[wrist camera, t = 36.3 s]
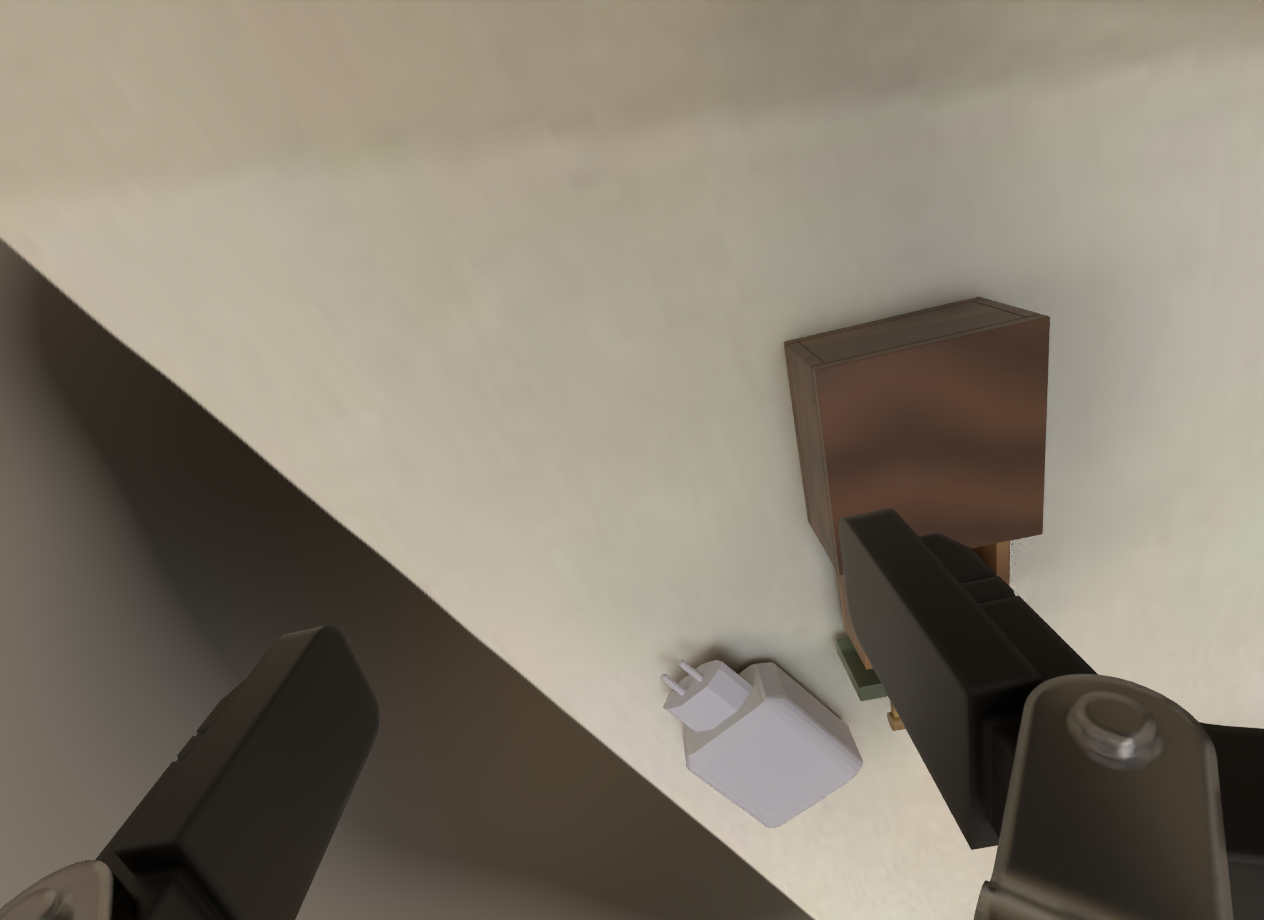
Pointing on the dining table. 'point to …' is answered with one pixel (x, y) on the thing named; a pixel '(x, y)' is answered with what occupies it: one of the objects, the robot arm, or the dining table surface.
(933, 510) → the cabinet
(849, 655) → the drawer
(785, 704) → the charger
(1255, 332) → the dining table surface
